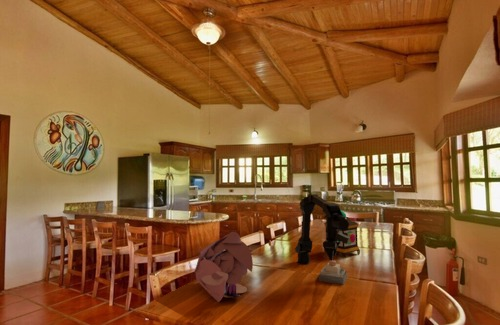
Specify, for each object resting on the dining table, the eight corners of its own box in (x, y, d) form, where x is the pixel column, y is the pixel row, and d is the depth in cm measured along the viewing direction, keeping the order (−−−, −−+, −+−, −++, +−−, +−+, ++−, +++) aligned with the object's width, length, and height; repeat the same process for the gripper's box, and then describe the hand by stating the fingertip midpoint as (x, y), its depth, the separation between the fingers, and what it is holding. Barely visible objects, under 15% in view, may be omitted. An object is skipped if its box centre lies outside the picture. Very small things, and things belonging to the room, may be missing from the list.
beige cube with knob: (325, 273, 142) (325, 261, 142) (328, 270, 147) (327, 259, 148) (337, 275, 139) (337, 263, 140) (339, 272, 145) (339, 260, 145)
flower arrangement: (263, 306, 123) (276, 242, 127) (224, 313, 107) (240, 239, 111) (215, 279, 148) (226, 226, 152) (177, 281, 131) (191, 221, 135)
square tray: (318, 280, 140) (318, 271, 141) (323, 273, 151) (323, 265, 151) (343, 284, 135) (343, 275, 135) (346, 277, 146) (346, 268, 146)
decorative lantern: (363, 254, 191) (361, 210, 193) (345, 259, 180) (343, 212, 182) (339, 248, 208) (338, 208, 210) (321, 252, 196) (320, 210, 199)
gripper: (345, 231, 133) (346, 265, 132) (350, 226, 149) (351, 255, 148) (322, 230, 138) (322, 262, 137) (329, 224, 155) (330, 253, 153)
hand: (332, 258), depth 144 cm, fingers open, 9 cm apart
